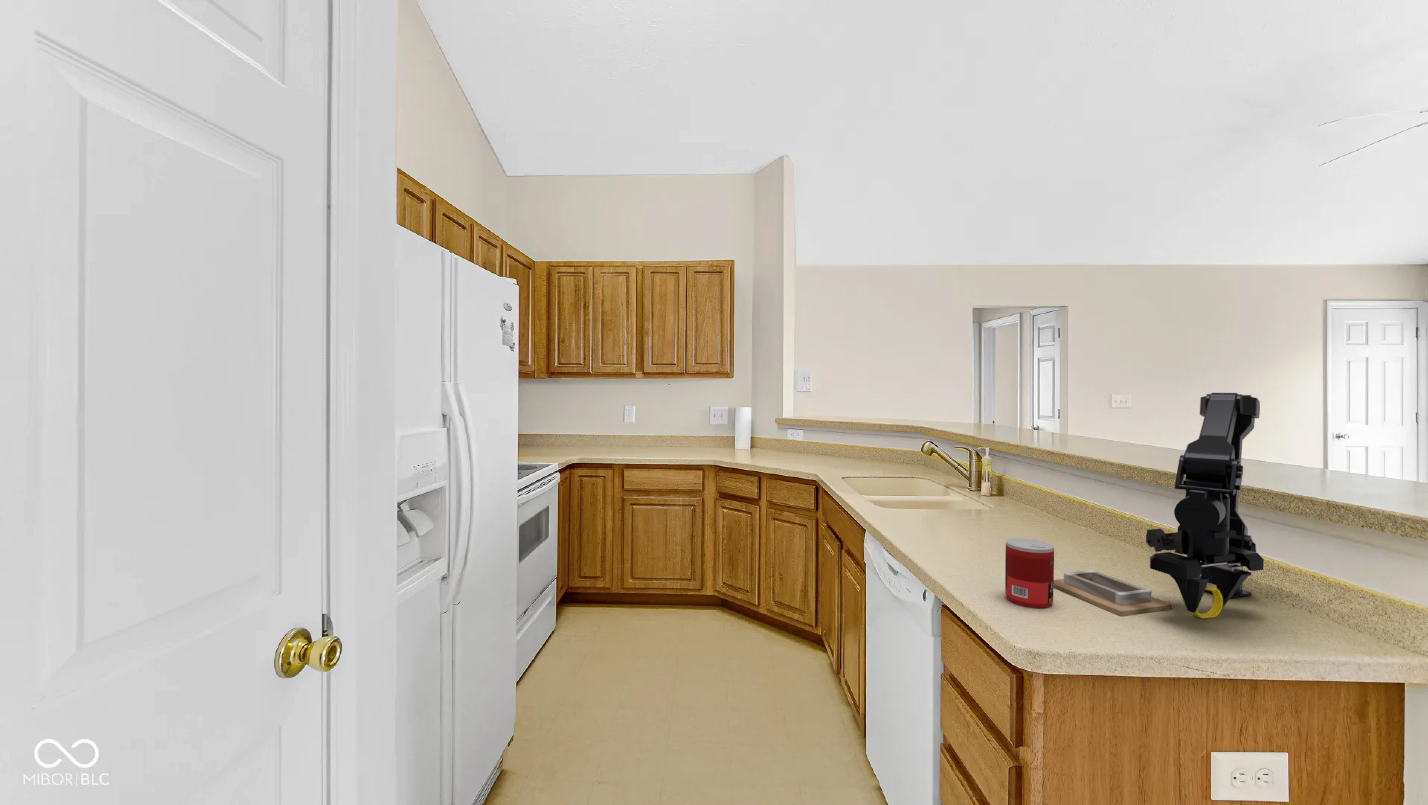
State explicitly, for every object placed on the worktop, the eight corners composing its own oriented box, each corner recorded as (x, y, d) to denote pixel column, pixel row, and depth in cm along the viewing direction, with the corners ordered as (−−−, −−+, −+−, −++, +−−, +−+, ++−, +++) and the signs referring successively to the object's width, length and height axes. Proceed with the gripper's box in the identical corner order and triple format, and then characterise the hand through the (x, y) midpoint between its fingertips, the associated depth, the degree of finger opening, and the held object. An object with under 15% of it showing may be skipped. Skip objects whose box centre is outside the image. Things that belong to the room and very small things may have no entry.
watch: (1209, 614, 100) (1212, 581, 100) (1226, 620, 97) (1229, 586, 97) (1182, 614, 99) (1184, 581, 99) (1198, 620, 96) (1201, 586, 96)
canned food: (1060, 610, 101) (1061, 550, 101) (1012, 607, 103) (1013, 548, 102) (1044, 594, 109) (1044, 538, 108) (999, 591, 110) (1000, 536, 110)
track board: (1093, 579, 117) (1093, 566, 117) (1172, 608, 102) (1172, 593, 101) (1046, 584, 114) (1046, 571, 114) (1120, 616, 99) (1120, 600, 98)
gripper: (1197, 508, 108) (1195, 588, 108) (1121, 514, 103) (1119, 598, 104) (1267, 522, 97) (1264, 611, 97) (1185, 530, 92) (1183, 623, 93)
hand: (1205, 609), depth 98 cm, fingers closed on watch, 6 cm apart
